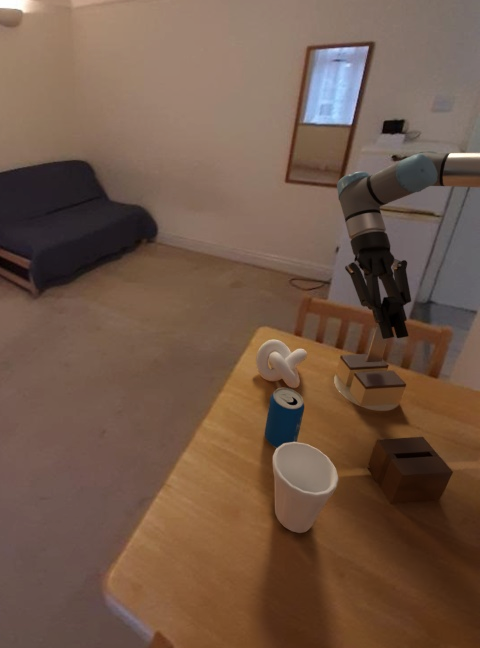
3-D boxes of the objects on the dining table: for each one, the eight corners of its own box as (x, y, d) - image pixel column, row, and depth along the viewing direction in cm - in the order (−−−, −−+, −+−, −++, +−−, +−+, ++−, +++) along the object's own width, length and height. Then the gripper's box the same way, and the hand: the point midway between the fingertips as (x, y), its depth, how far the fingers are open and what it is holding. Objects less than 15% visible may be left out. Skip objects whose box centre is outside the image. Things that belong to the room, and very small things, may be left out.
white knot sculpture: (247, 381, 102) (251, 353, 98) (261, 355, 111) (265, 328, 107) (294, 399, 96) (300, 370, 93) (305, 369, 105) (310, 342, 102)
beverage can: (285, 458, 82) (294, 415, 77) (258, 438, 87) (264, 396, 82) (302, 440, 86) (311, 398, 81) (274, 422, 91) (282, 381, 85)
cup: (280, 479, 78) (290, 431, 73) (333, 516, 72) (348, 467, 66) (252, 514, 72) (261, 465, 67) (307, 559, 66) (322, 509, 60)
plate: (395, 380, 101) (396, 377, 100) (402, 421, 90) (403, 418, 89) (333, 365, 107) (334, 362, 106) (332, 402, 95) (333, 399, 95)
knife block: (411, 464, 80) (422, 436, 77) (439, 501, 73) (453, 472, 70) (366, 467, 80) (376, 439, 77) (390, 504, 73) (402, 475, 70)
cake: (371, 371, 103) (376, 353, 100) (399, 404, 93) (406, 384, 90) (335, 373, 102) (340, 355, 100) (360, 406, 93) (366, 386, 90)
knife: (377, 357, 95) (396, 296, 88) (383, 364, 93) (404, 302, 86) (363, 358, 95) (381, 297, 88) (369, 365, 93) (388, 303, 86)
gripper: (390, 240, 98) (418, 338, 90) (327, 243, 97) (350, 341, 90) (411, 228, 91) (444, 333, 83) (343, 231, 90) (370, 337, 83)
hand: (395, 337), depth 86 cm, fingers closed on knife, 2 cm apart
